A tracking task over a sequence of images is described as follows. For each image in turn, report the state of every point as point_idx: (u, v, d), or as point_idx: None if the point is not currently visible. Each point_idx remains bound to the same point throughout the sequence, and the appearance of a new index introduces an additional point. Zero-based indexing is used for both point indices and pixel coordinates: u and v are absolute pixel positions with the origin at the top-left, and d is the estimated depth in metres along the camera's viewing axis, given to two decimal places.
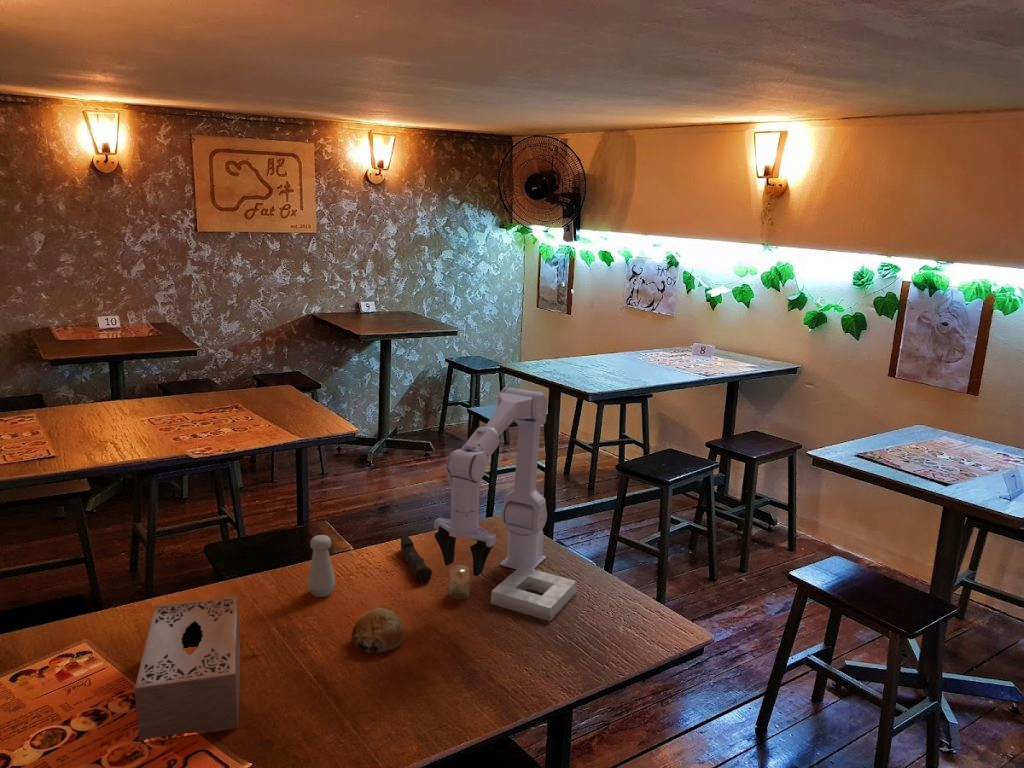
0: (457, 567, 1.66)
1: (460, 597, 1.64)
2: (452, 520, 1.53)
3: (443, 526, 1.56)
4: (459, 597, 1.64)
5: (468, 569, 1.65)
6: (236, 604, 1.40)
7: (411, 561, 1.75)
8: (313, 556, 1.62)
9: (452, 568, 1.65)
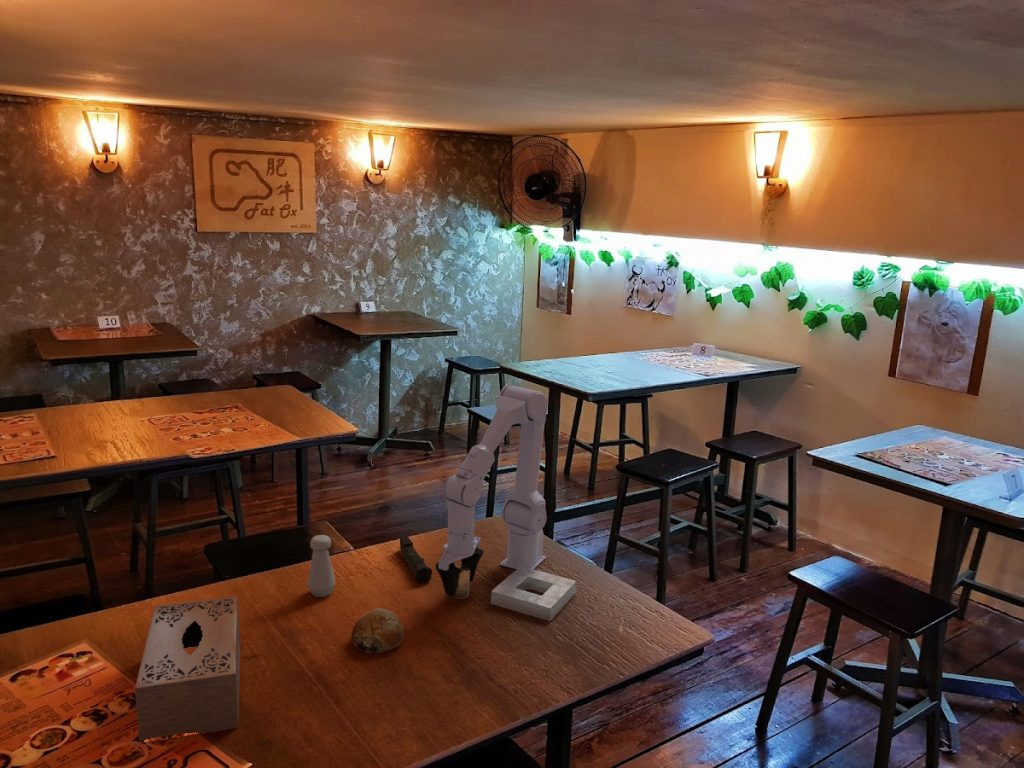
0: None
1: (460, 597, 1.64)
2: None
3: None
4: (459, 597, 1.64)
5: (468, 569, 1.65)
6: (236, 604, 1.40)
7: (411, 561, 1.75)
8: (313, 556, 1.62)
9: None
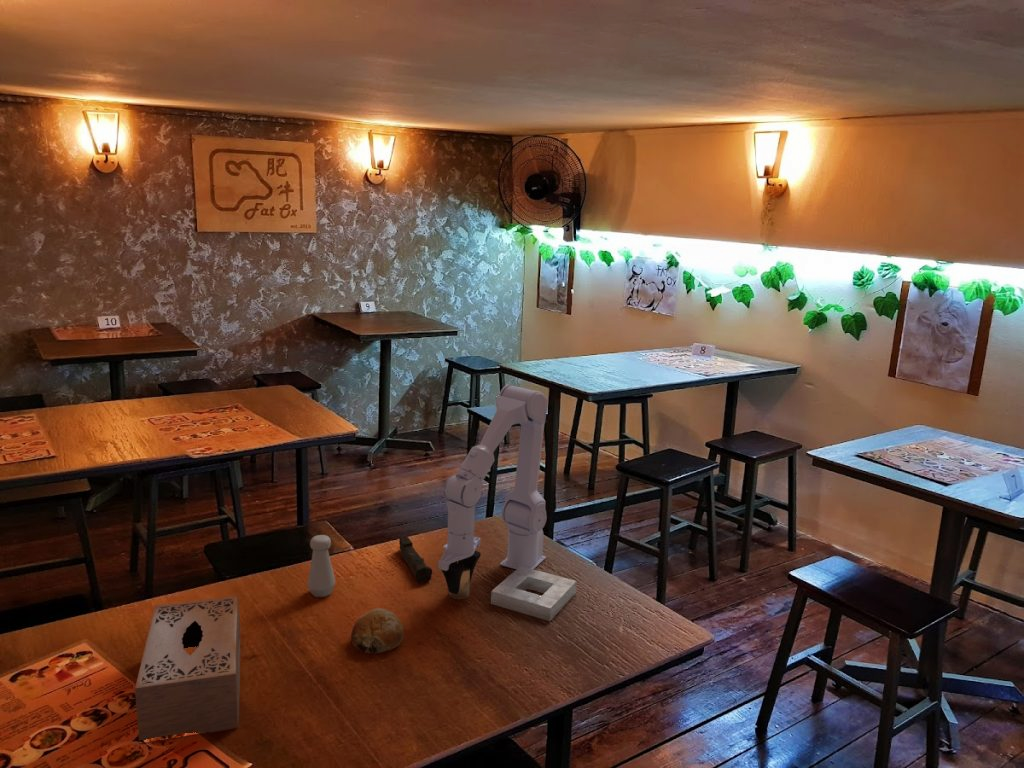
0: None
1: (460, 597, 1.64)
2: None
3: None
4: (459, 597, 1.64)
5: (468, 569, 1.65)
6: (236, 604, 1.40)
7: (411, 561, 1.75)
8: (312, 556, 1.62)
9: None
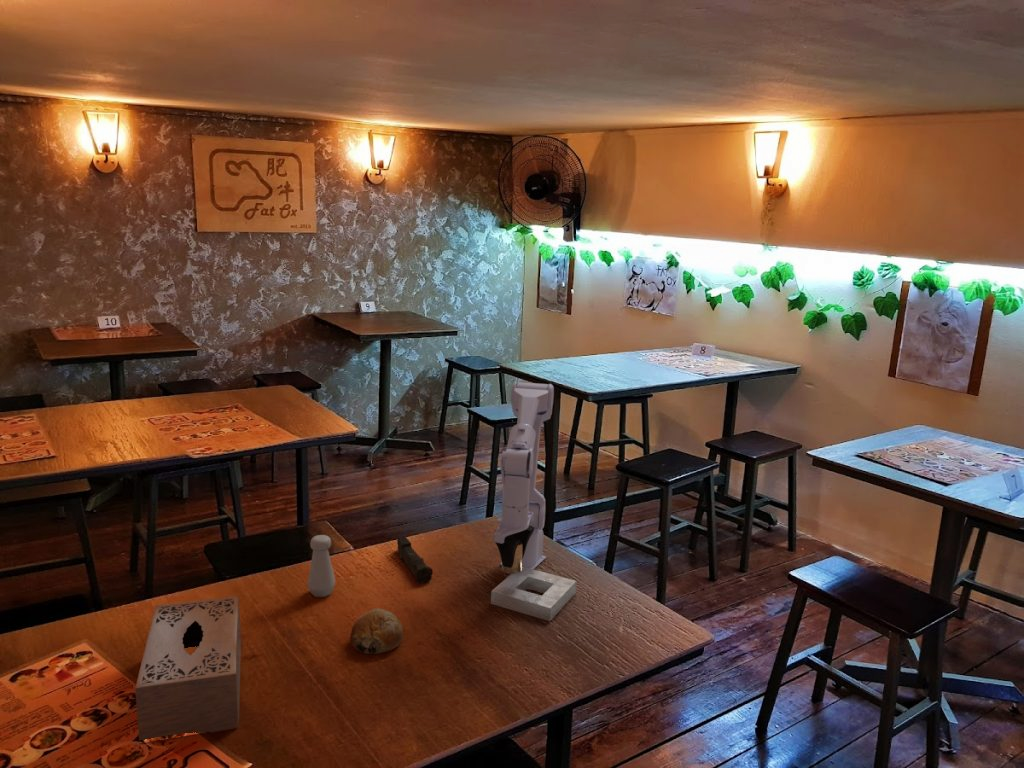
0: None
1: (514, 571, 1.63)
2: None
3: None
4: (513, 571, 1.62)
5: (520, 543, 1.64)
6: (237, 604, 1.40)
7: (411, 561, 1.75)
8: (313, 556, 1.62)
9: None
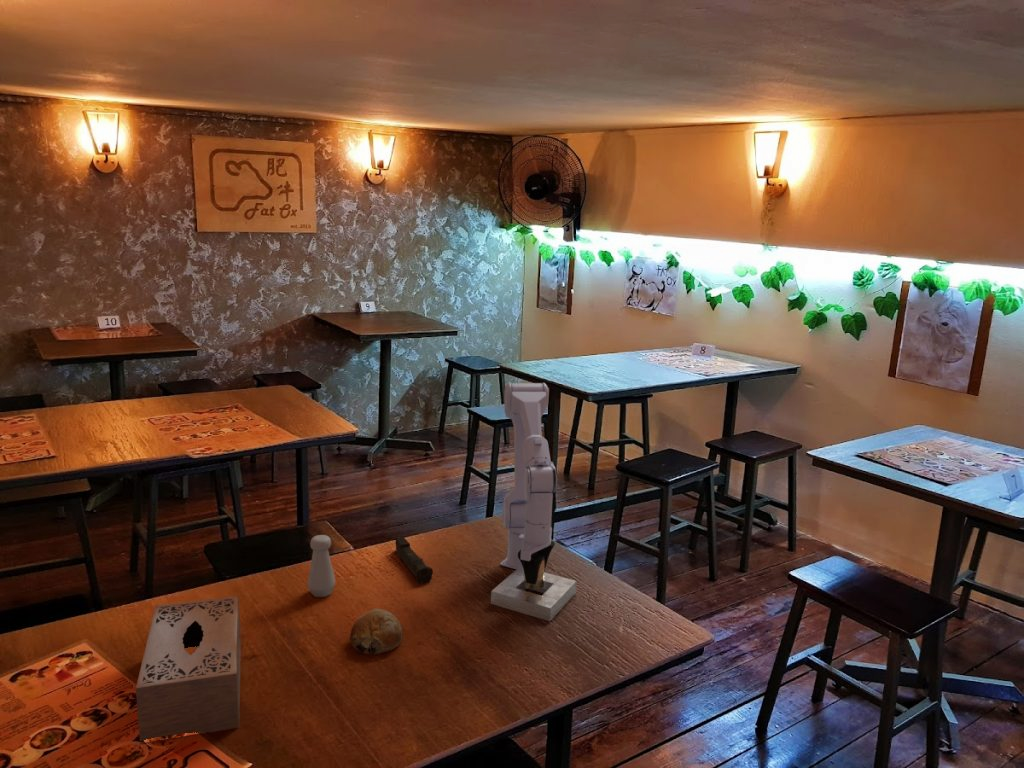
0: None
1: (537, 587, 1.63)
2: None
3: None
4: (536, 587, 1.63)
5: None
6: (237, 604, 1.40)
7: (410, 561, 1.75)
8: (313, 556, 1.62)
9: None
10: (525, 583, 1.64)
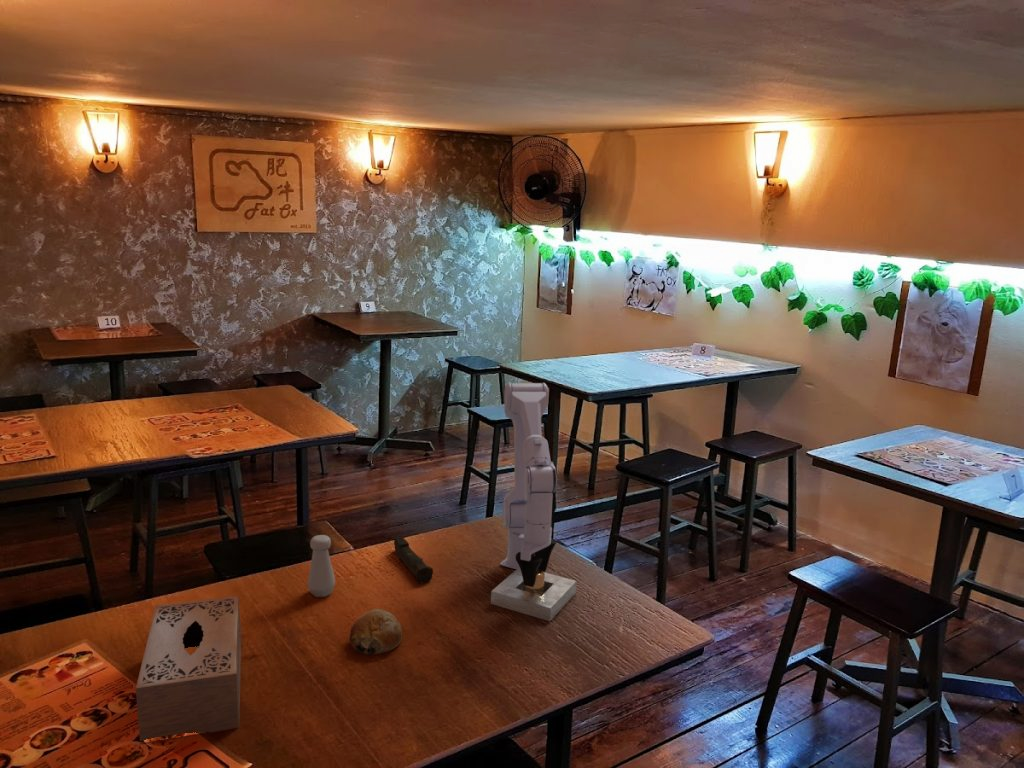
0: None
1: None
2: None
3: None
4: None
5: (542, 572, 1.65)
6: (237, 604, 1.40)
7: (410, 561, 1.75)
8: (312, 556, 1.62)
9: None
10: None
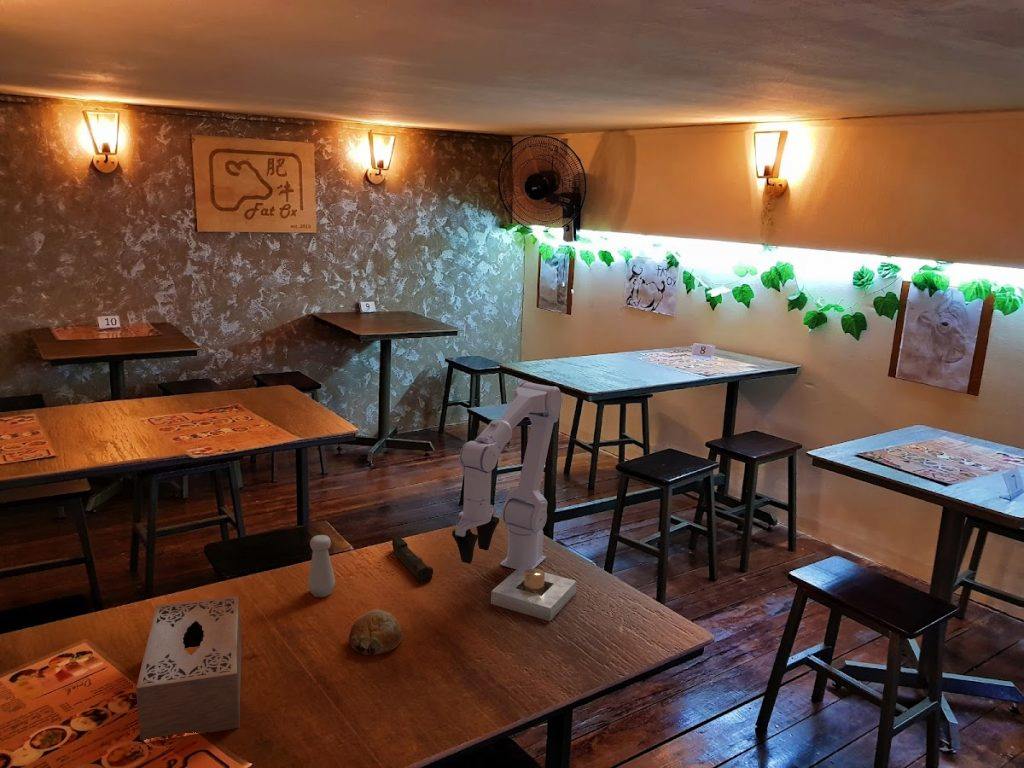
0: (531, 571, 1.65)
1: None
2: None
3: None
4: None
5: (542, 572, 1.65)
6: (237, 604, 1.40)
7: (410, 561, 1.75)
8: (312, 556, 1.62)
9: (526, 572, 1.65)
10: None
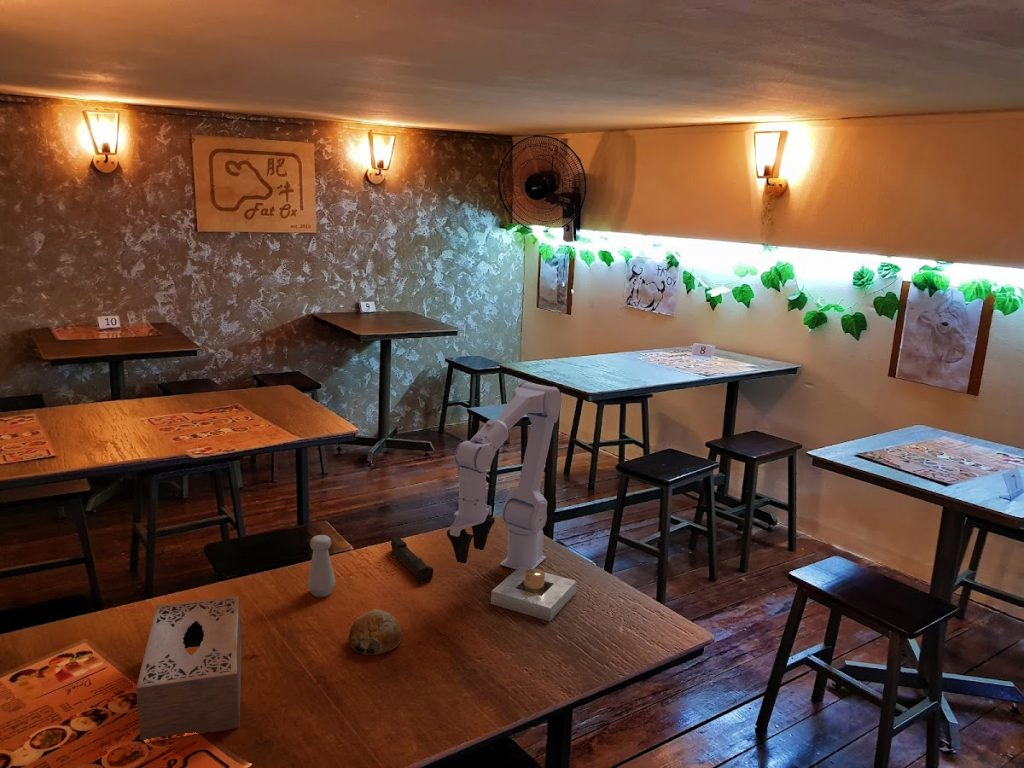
0: (531, 571, 1.65)
1: None
2: None
3: None
4: None
5: (542, 572, 1.65)
6: (237, 604, 1.40)
7: (410, 561, 1.75)
8: (312, 556, 1.62)
9: (527, 572, 1.65)
10: None
